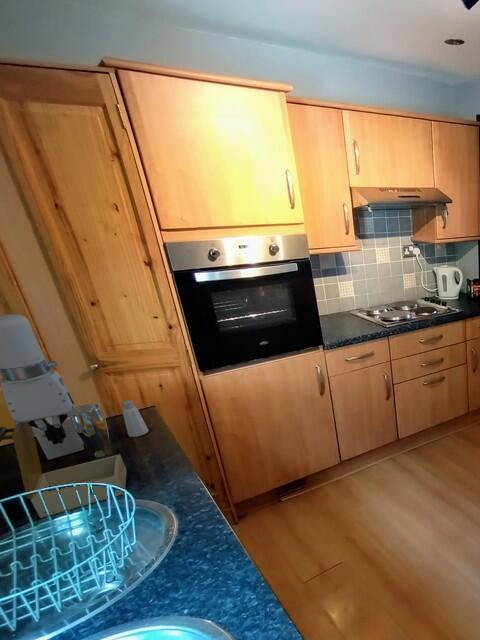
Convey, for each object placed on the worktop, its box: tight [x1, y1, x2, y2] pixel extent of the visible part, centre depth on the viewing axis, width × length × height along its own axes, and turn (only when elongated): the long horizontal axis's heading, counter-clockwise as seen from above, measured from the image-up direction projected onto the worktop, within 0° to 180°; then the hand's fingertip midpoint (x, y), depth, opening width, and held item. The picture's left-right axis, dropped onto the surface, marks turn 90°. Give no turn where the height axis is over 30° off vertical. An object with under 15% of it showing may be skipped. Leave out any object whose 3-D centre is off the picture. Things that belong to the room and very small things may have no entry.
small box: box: [32, 417, 85, 461], centre depth 130 cm, size 8×6×10 cm
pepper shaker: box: [120, 399, 150, 438], centre depth 140 cm, size 5×5×11 cm
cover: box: [0, 423, 43, 499], centre depth 104 cm, size 16×13×5 cm
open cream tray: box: [30, 453, 127, 519], centre depth 113 cm, size 16×13×5 cm
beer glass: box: [69, 403, 118, 461], centre depth 127 cm, size 7×7×15 cm
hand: (59, 441), depth 108 cm, fingers closed
